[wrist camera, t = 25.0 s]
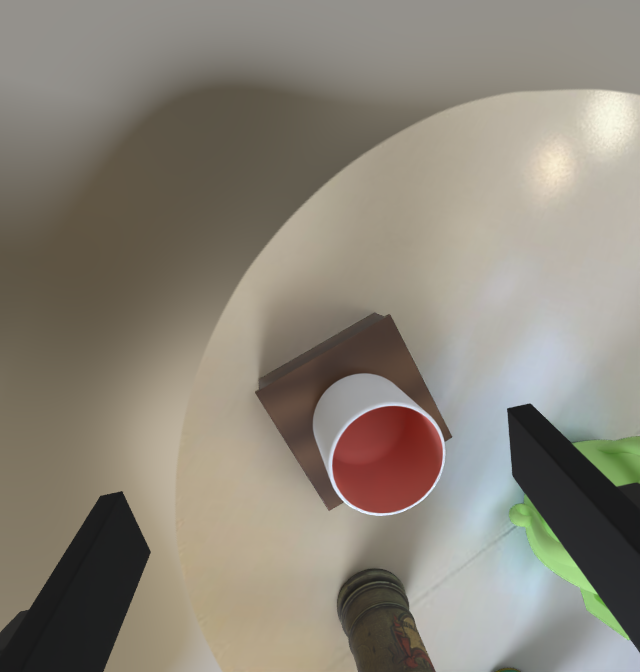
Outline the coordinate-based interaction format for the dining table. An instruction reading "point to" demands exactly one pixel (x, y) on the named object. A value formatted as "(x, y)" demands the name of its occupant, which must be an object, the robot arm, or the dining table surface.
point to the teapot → (620, 468)
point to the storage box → (327, 368)
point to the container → (381, 624)
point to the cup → (377, 445)
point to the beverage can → (508, 670)
